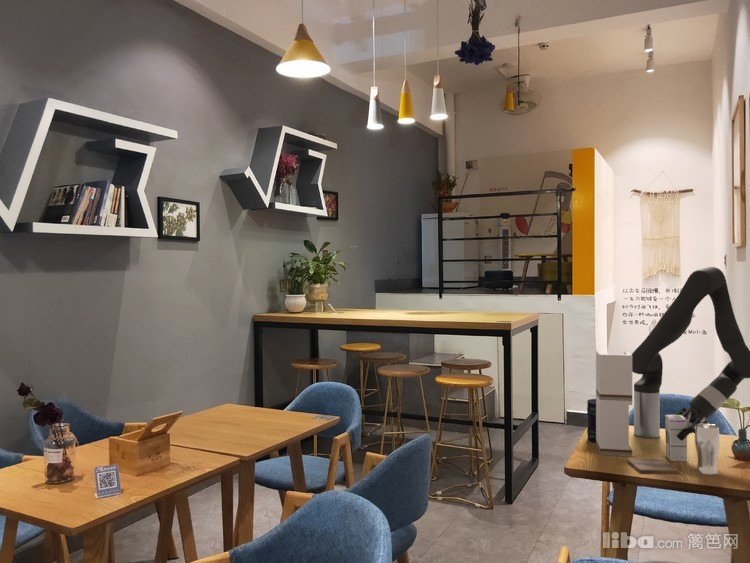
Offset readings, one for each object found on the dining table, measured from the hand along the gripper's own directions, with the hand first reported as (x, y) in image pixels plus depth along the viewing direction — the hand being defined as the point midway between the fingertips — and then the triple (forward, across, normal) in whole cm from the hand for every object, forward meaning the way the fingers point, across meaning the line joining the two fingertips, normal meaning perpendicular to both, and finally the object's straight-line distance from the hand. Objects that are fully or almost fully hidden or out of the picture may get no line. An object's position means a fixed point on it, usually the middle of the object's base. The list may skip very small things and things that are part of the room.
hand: (673, 435), depth 211 cm
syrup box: (+5, 0, +6) cm, 8 cm away
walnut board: (+14, +10, -2) cm, 17 cm away
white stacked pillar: (+18, -9, -6) cm, 21 cm away
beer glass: (+3, +15, +9) cm, 18 cm away
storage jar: (+18, -22, -7) cm, 29 cm away
